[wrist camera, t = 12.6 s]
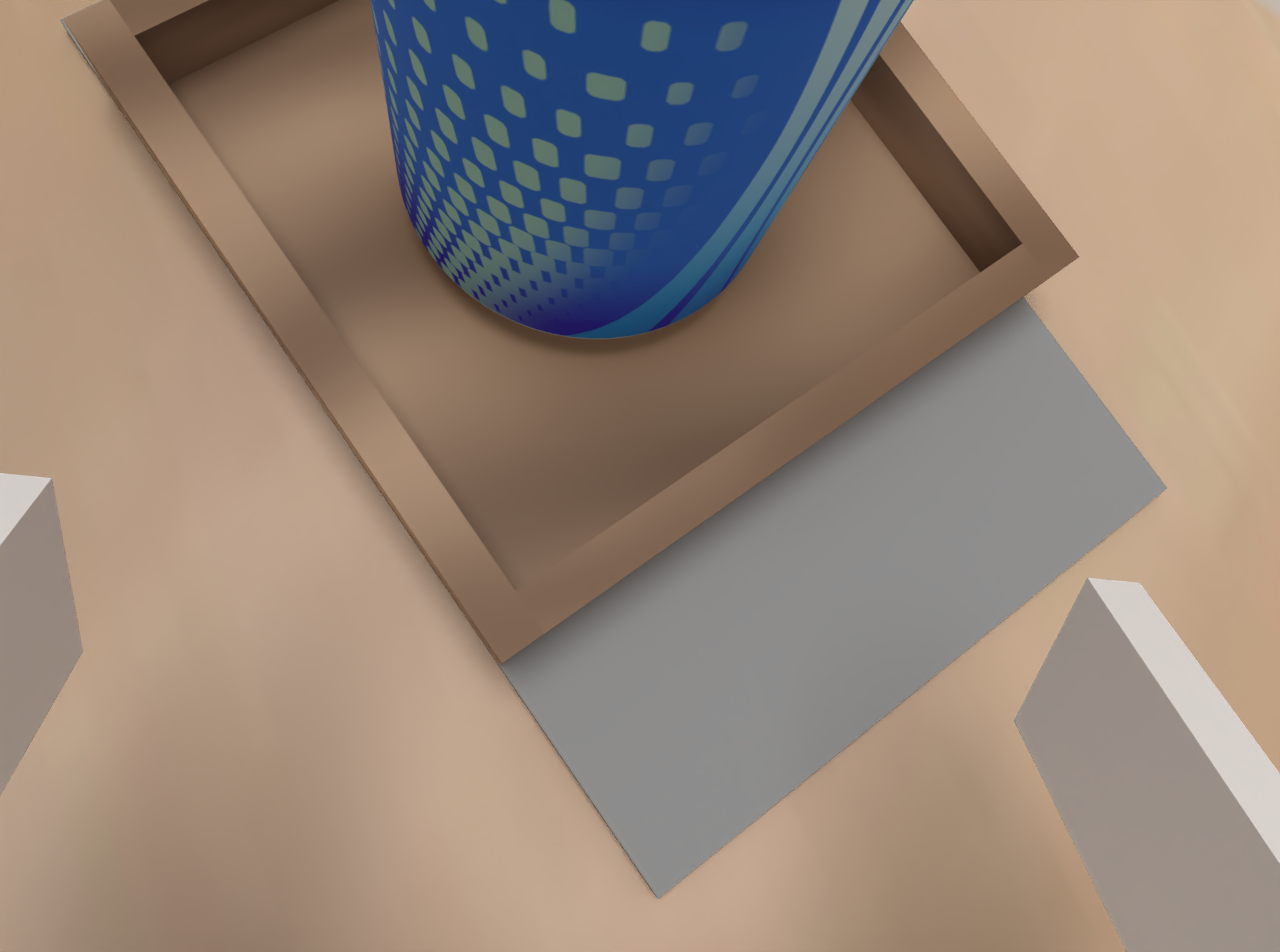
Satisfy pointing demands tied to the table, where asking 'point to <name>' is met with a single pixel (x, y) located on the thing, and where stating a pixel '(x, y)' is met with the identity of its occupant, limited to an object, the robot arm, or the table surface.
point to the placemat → (828, 591)
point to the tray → (545, 363)
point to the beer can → (611, 142)
